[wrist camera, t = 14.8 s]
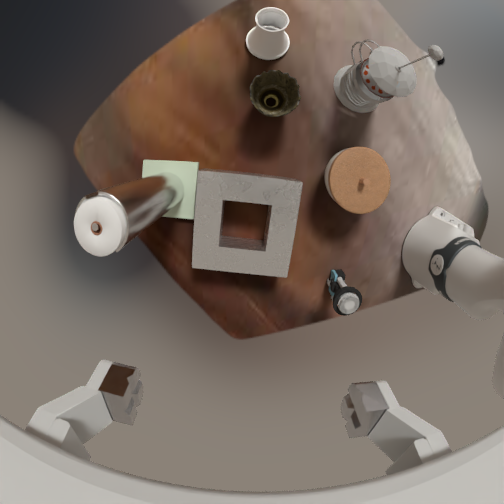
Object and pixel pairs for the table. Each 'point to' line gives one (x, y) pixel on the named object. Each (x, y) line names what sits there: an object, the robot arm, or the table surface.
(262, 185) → the bore block
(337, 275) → the push button
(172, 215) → the pad
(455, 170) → the table surface
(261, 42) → the vase
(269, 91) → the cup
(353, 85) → the french press
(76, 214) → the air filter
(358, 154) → the lidded jar
